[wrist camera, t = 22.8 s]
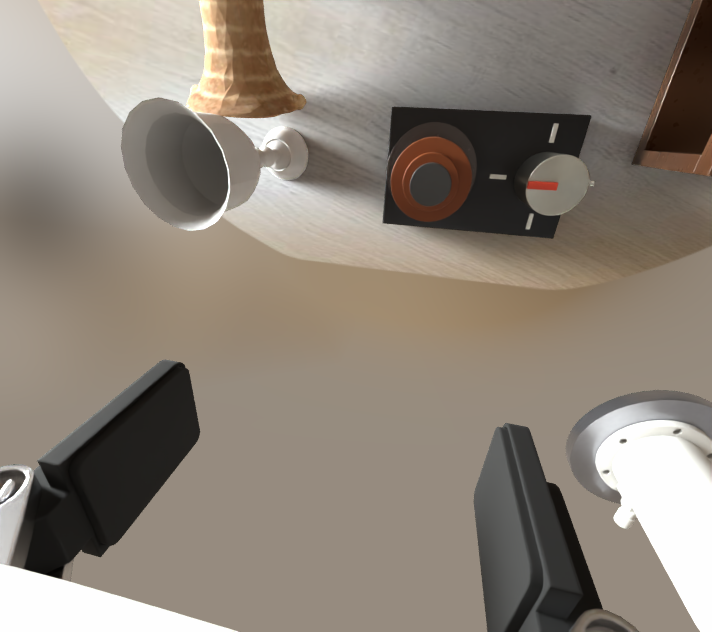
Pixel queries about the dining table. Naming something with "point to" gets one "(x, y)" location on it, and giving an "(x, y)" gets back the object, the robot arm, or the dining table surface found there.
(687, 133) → the shelf
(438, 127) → the burner
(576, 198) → the stove knob
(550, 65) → the dining table surface
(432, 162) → the bottle
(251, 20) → the jug
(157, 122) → the chalice
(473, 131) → the stove
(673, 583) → the robot arm
